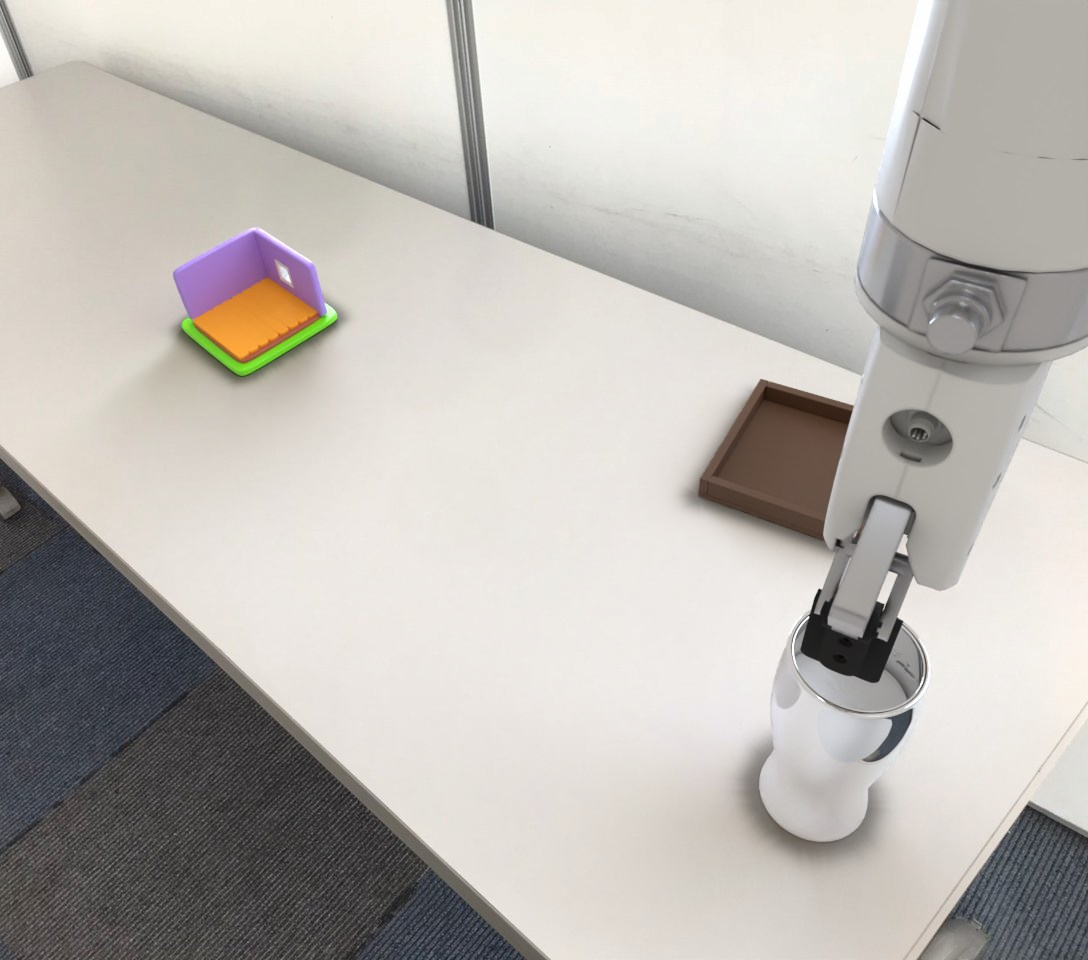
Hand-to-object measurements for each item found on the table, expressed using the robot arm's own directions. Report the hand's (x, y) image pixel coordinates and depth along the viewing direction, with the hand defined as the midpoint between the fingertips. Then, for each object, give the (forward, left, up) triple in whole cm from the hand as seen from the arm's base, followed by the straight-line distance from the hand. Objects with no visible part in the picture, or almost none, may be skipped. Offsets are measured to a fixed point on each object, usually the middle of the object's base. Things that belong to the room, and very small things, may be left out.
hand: (876, 579), depth 43 cm
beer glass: (0, 0, -21) cm, 21 cm away
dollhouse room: (+62, -21, -21) cm, 69 cm away
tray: (+9, -25, -21) cm, 34 cm away
